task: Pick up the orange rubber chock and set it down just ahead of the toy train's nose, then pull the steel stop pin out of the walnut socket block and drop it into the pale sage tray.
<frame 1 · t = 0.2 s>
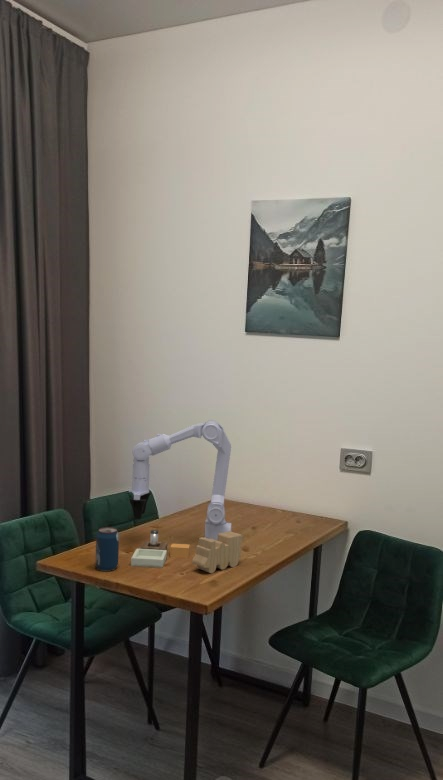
hand: (139, 516, 223), 10 cm above the table, tool pointing down, fingers open, 7 cm apart
toy train: (217, 568, 203), on the table
chock: (179, 556, 213), on the table
soda can: (106, 568, 198), on the table
socket block: (153, 552, 216), on the table
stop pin: (154, 541, 215), in the socket block
tray: (149, 561, 206), on the table
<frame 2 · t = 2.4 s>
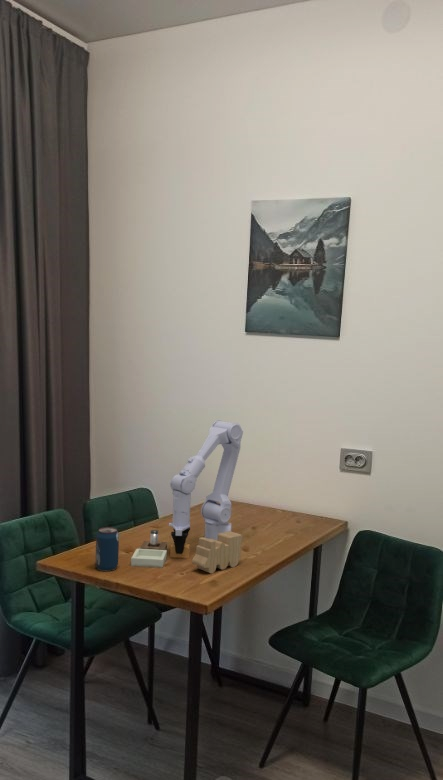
hand: (179, 551, 213), 1 cm above the table, tool pointing down, fingers closed on chock, 4 cm apart
chock: (179, 555, 213), on the table, touching gripper
everything else where it was.
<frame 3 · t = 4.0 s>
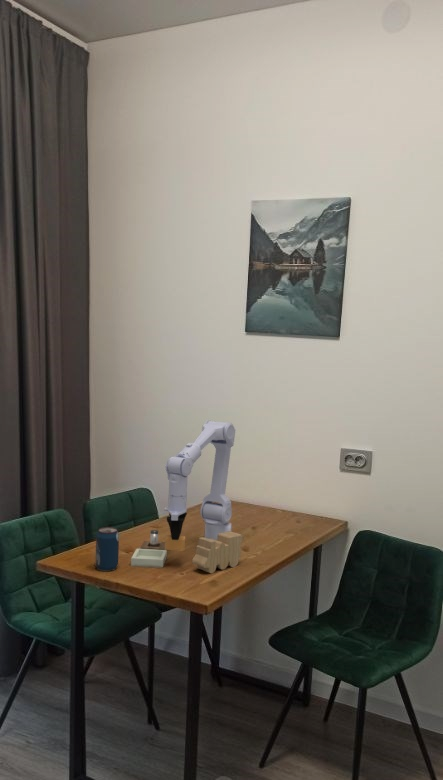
hand: (176, 537, 203), 9 cm above the table, tool pointing down, fingers closed on chock, 4 cm apart
chock: (175, 548, 203), point 5 cm above the table, touching gripper
everything else where it was.
when the fingers open (3 cm above the table, at t = 5.5 s): chock stays where it is, on the table.
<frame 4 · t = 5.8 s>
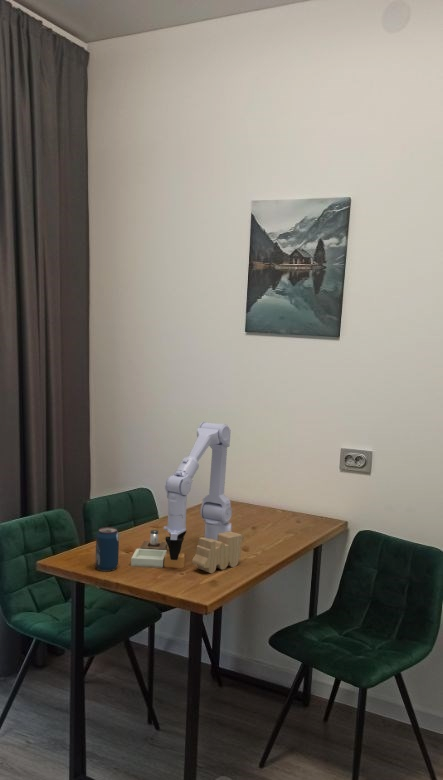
hand: (175, 556, 203), 3 cm above the table, tool pointing down, fingers open, 6 cm apart
chock: (174, 565, 203), on the table
everything else where it was.
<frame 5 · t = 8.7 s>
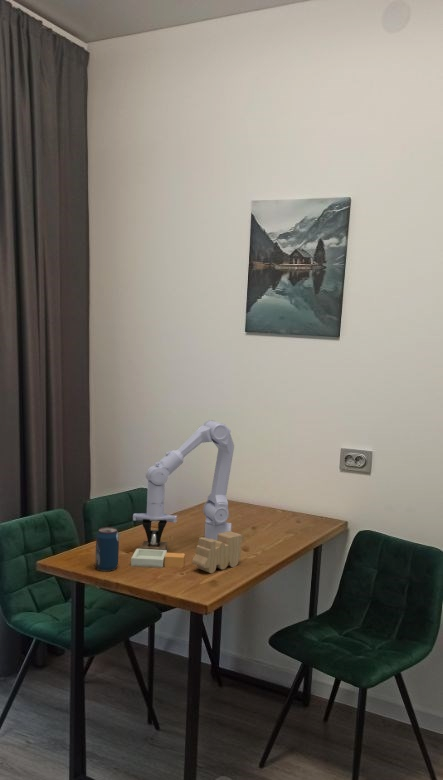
hand: (154, 542, 215), 3 cm above the table, tool pointing down, fingers closed on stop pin, 3 cm apart
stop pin: (154, 541, 215), in the socket block, touching gripper
everything else where it was.
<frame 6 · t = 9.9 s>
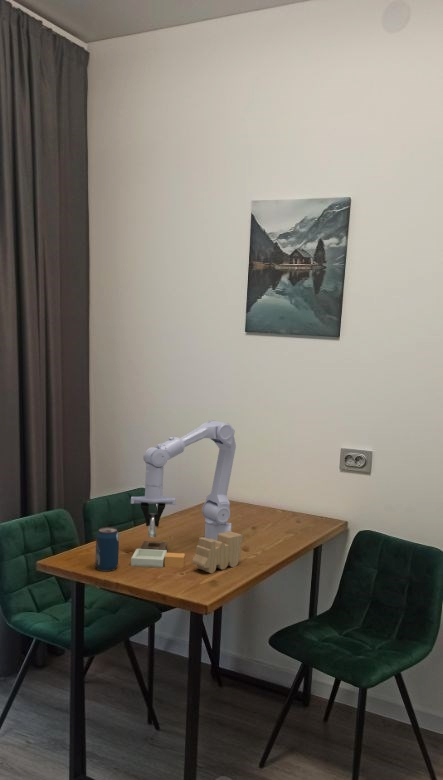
hand: (152, 525, 210), 10 cm above the table, tool pointing down, fingers closed on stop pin, 3 cm apart
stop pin: (152, 525, 210), point 10 cm above the table, touching gripper
everything else where it was.
when the fingers open (5 cm above the table, at t = 11.4 s): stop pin drops 1 cm, resting on tray.
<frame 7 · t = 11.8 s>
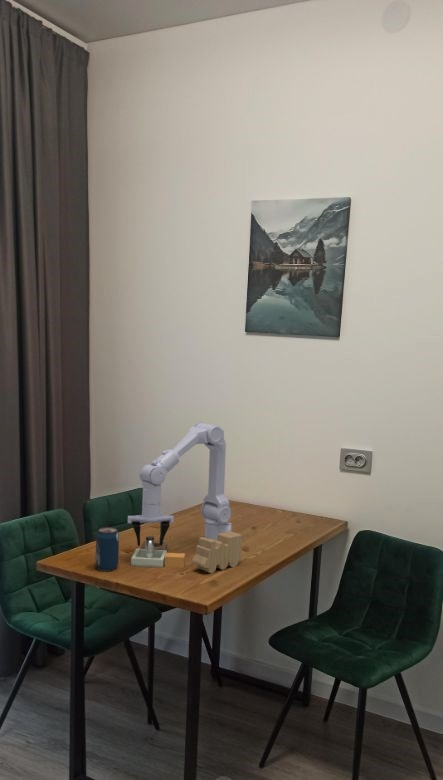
hand: (149, 544, 205), 6 cm above the table, tool pointing down, fingers open, 6 cm apart
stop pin: (149, 548, 206), in the tray, point 4 cm above the table
everything else where it was.
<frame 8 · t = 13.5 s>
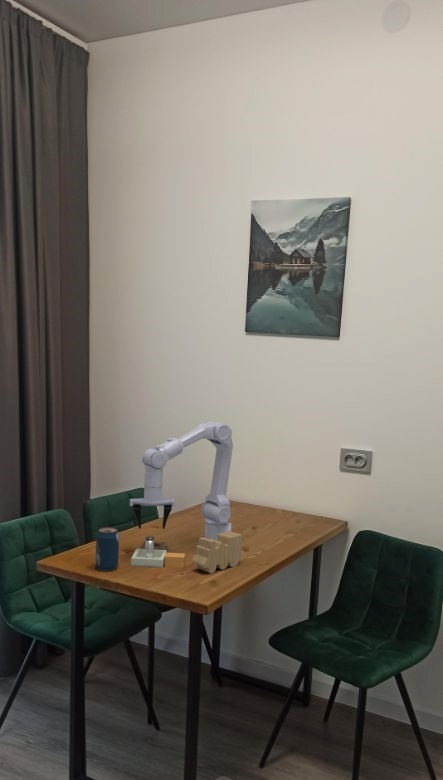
hand: (151, 527, 208), 10 cm above the table, tool pointing down, fingers open, 7 cm apart
nothing on the table moved.
at the end: chock inside the target area (0.2 cm from its centre), on the table; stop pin inside the target area on the tray (0.2 cm from its centre), point 4.3 cm above the tray's base; the gripper is holding nothing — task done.
